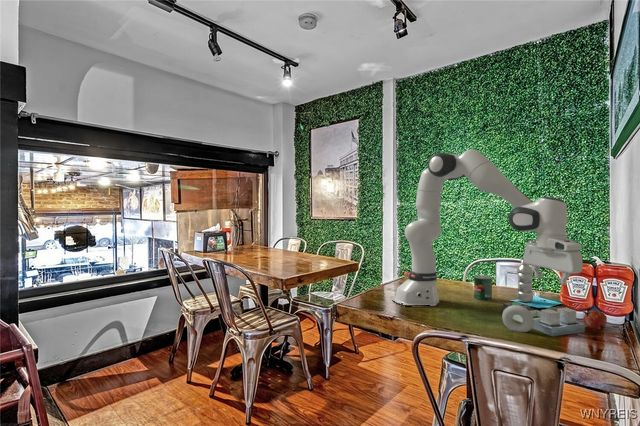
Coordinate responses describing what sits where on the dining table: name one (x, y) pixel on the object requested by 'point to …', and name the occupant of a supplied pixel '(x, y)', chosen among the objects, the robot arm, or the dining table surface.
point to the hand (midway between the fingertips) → (550, 281)
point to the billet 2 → (567, 316)
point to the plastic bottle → (524, 282)
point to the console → (511, 305)
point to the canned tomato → (483, 288)
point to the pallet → (559, 328)
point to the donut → (521, 311)
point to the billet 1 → (550, 318)
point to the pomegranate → (595, 319)
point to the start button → (516, 303)
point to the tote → (534, 313)
